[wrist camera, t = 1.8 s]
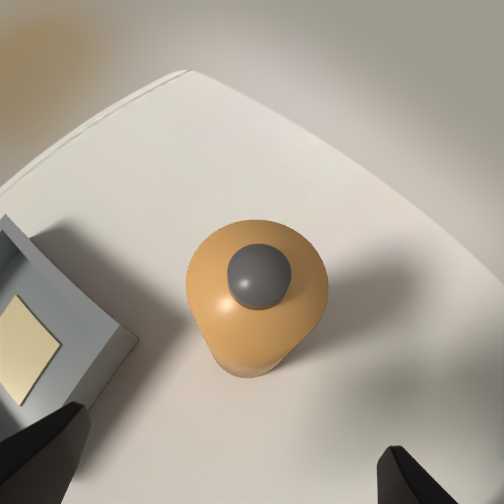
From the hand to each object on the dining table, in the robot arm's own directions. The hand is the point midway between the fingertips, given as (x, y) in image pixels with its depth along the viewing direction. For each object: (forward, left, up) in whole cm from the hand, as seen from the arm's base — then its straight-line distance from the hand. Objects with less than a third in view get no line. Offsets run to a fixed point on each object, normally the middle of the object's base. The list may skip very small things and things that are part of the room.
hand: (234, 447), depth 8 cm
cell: (+2, -5, -12) cm, 13 cm away
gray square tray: (+15, +6, -12) cm, 20 cm away
